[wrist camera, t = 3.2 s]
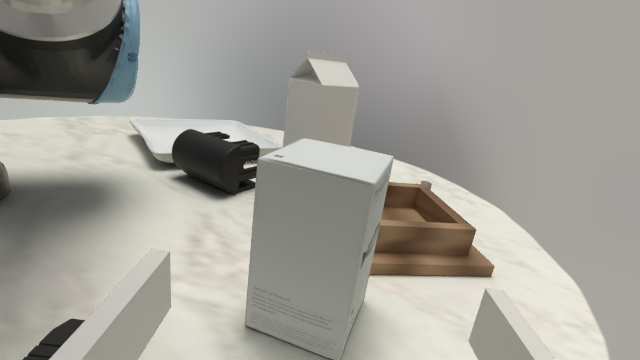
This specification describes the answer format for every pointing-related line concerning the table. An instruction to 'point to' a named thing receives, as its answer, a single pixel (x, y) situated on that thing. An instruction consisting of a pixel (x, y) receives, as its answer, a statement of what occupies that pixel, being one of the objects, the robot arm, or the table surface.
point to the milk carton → (321, 100)
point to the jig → (424, 236)
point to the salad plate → (167, 130)
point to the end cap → (216, 159)
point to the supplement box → (314, 241)
